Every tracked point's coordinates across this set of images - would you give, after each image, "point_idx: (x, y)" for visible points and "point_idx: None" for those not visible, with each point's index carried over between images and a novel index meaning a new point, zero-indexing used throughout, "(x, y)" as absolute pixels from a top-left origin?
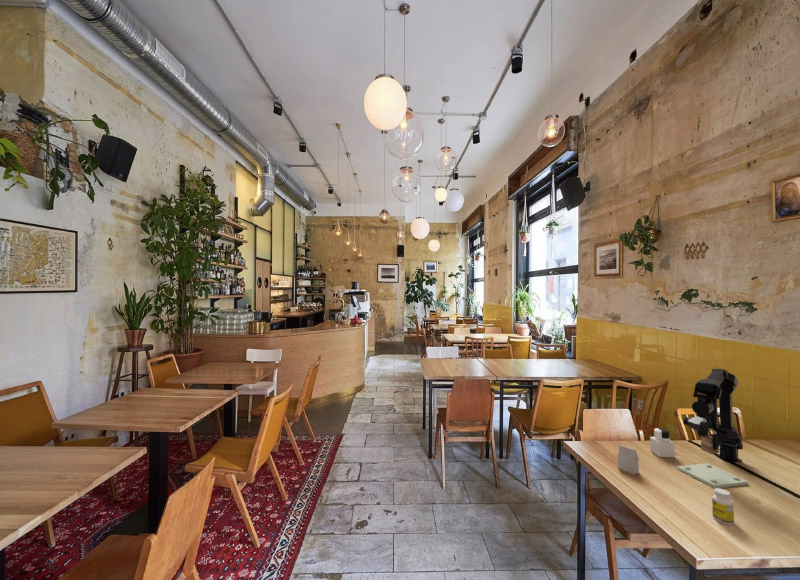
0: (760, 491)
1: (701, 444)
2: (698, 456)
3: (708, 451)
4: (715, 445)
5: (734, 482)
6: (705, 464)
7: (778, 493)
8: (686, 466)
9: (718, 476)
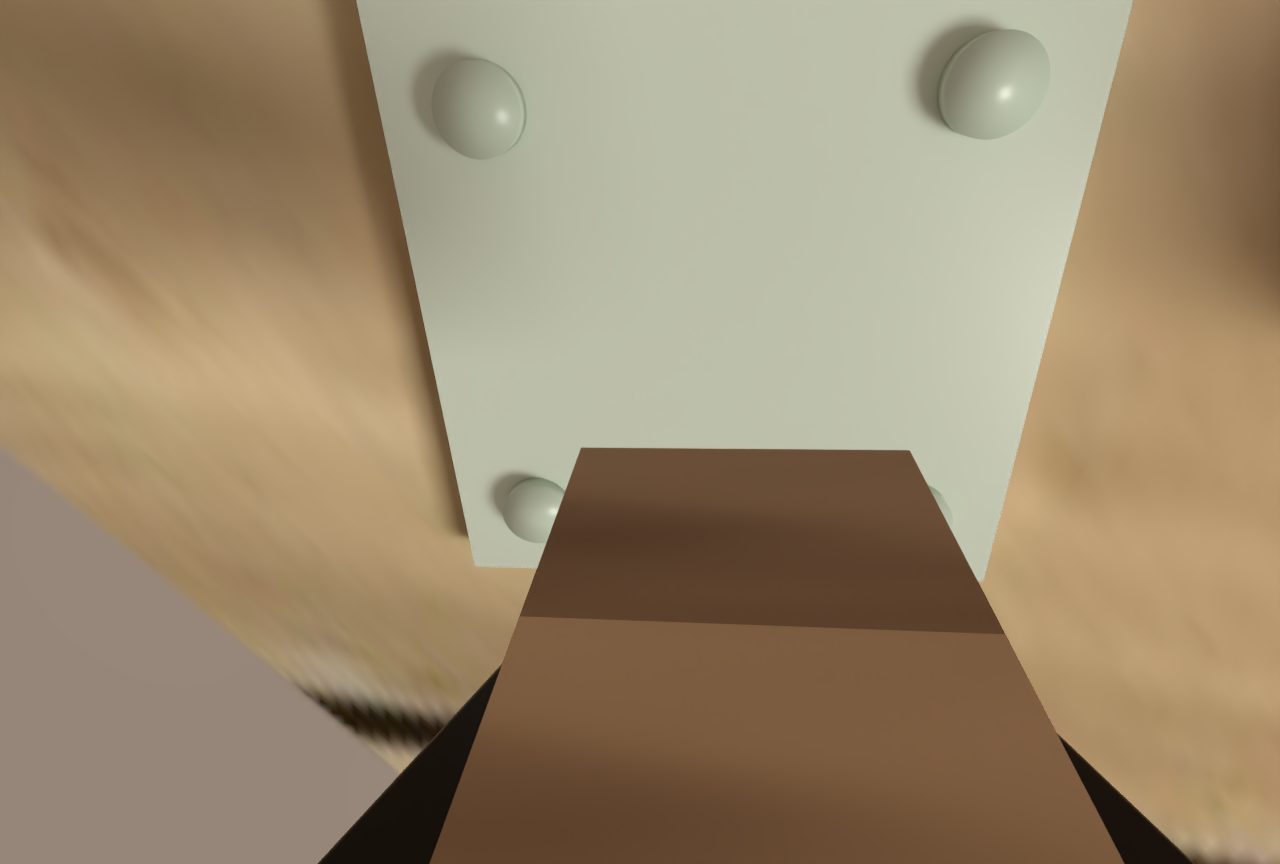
0: (343, 515)
1: (952, 577)
2: (1205, 689)
3: (654, 472)
4: (398, 783)
5: (453, 399)
6: (969, 527)
7: (320, 622)
8: (1028, 100)
9: (626, 355)
